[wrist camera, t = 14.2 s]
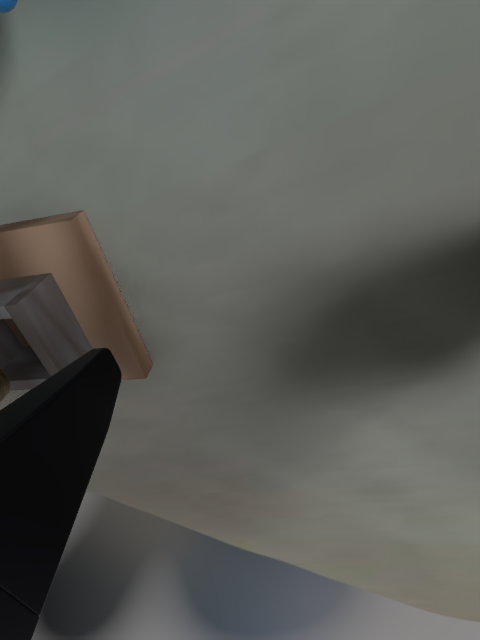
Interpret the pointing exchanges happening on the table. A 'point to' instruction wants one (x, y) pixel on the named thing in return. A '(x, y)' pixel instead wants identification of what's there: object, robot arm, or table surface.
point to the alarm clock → (7, 5)
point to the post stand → (60, 302)
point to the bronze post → (4, 384)
